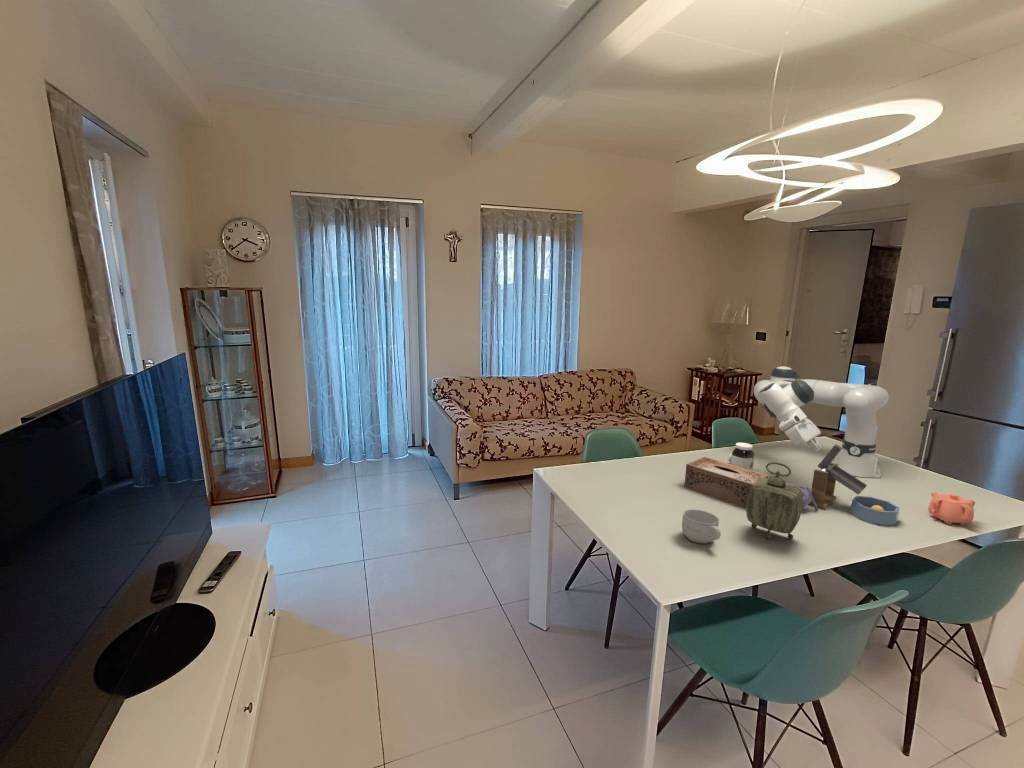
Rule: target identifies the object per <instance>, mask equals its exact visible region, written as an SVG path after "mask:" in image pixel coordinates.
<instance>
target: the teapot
mask: <svg viewBox="0 0 1024 768" xmlns="http://www.w3.org/2000/svg"><path fill="white" fill-rule="evenodd" d="M930 495H931V497H932V499H931V500H930V502H929V505H928V508H927V509H928V513H929V514H931V515H932V518H935V519H938V518H939V520H942V521H944V524H945V523H946V525H948V524H953V523H955V524H958V523H960V524H959V525H961V524H962V525H961V526H966V525H965V524H969V523H972V521H973V520H974V517H975V509H974V508H975V507H974V506H975V505H976V501H974V500H972V499H966V498H964V497H961V496H959V495H958V494H955V493H949V494H948V493H946V494H944V493H941V494H939V493H938V492H931V493H930Z"/></svg>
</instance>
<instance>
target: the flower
mask: <svg viewBox="0 0 1024 768" xmlns="http://www.w3.org/2000/svg"><path fill="white" fill-rule="evenodd" d="M800 489H801V491H802V495H803V505H802V510H804V509H805V508H806V507H807V506H808V505H807V504H812V505H813V506H814V507H813V508H814V511H815V512H818V511H819V508H817V505H816V503H815V501H814V498H813V496H812V494H811V489H810V488H809V487H808V486H806V487H805V486H804V487H802V486H800Z"/></svg>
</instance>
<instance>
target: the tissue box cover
mask: <svg viewBox="0 0 1024 768" xmlns="http://www.w3.org/2000/svg"><path fill="white" fill-rule="evenodd" d="M684 475H685V476H684V486H683V487H684V488H687V489H689V490H692V491H694V492H697V493H701V494H703V495H706V496H709V497H712V498H716V499H718V500H721V501H723V502H727V503H730V504H732V505H736V506H738V507H741V508H744V509H746V502H747V497H748V492H749V490H750V488H751V486H752V485H753V484H754V483H755V482H756V481H757V480H758V479H759V478H768V479H769V478H770V475H769V474H766V473H763V472H759V471H756V470H755V471H754V470H753V469H751V470H749V469H745V468H742V467H738V466H735V465H731V463H727V462H723V461H720V460H717V459H714V458H710V457H706V456H704V457H700V458H698V459H696V460H694V461H690V462H688V463H686V466H685V474H684Z"/></svg>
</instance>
